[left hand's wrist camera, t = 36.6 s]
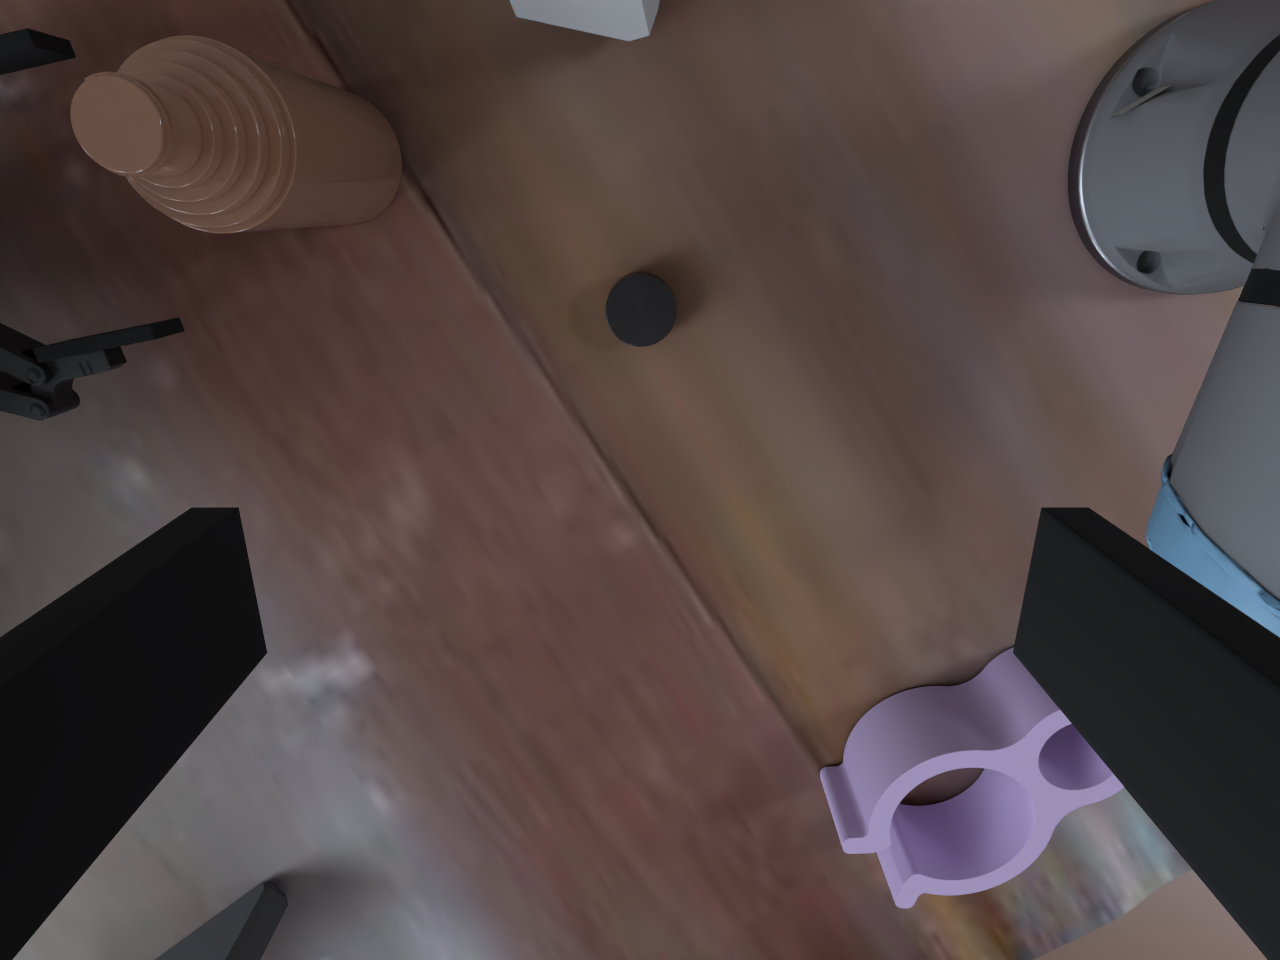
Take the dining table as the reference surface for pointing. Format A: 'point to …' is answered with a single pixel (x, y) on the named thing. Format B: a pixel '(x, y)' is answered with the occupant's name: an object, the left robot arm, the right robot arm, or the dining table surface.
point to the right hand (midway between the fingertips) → (114, 194)
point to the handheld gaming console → (236, 929)
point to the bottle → (237, 139)
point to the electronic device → (593, 15)
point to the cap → (640, 309)
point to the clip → (984, 813)
